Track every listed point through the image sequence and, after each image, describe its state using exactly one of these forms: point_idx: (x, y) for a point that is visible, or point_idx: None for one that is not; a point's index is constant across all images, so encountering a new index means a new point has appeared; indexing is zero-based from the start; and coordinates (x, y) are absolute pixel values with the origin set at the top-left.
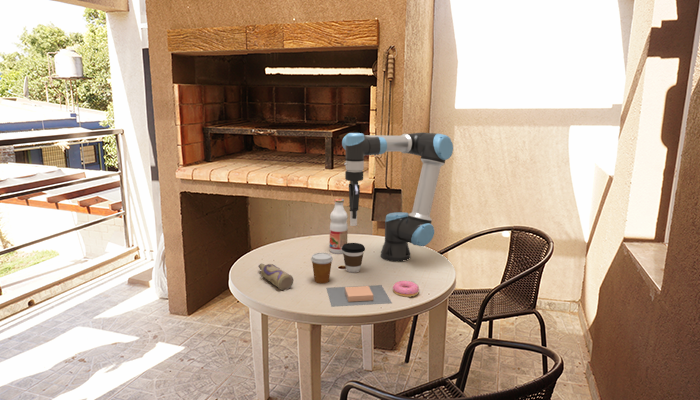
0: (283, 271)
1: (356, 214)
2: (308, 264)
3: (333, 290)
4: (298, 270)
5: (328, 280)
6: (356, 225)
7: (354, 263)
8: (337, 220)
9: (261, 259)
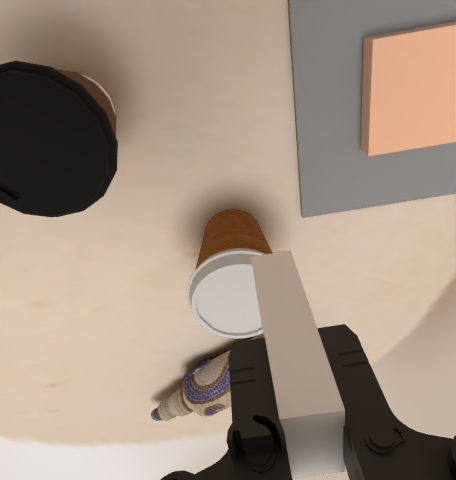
0: None
1: (326, 362)
2: (59, 290)
3: (330, 191)
4: (130, 313)
5: (245, 215)
6: (290, 255)
7: (113, 117)
8: None
9: (56, 412)
